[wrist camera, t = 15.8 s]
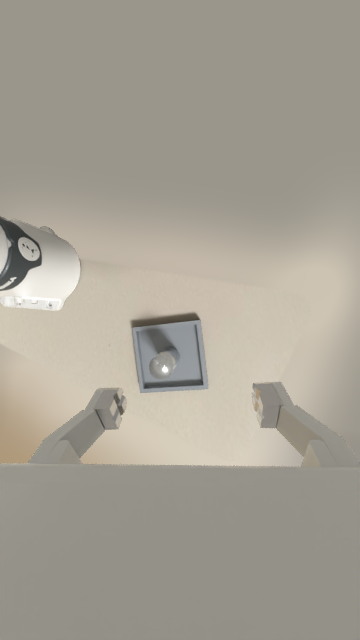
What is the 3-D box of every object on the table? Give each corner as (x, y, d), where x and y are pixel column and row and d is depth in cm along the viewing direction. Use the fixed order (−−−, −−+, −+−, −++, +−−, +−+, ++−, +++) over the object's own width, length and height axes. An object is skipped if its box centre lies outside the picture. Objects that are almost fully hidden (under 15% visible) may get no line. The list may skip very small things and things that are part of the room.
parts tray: (143, 389, 41) (140, 392, 39) (135, 327, 41) (132, 327, 39) (208, 385, 39) (208, 389, 37) (200, 319, 38) (200, 320, 37)
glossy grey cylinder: (162, 366, 39) (150, 380, 32) (159, 347, 39) (147, 356, 31) (181, 365, 39) (173, 378, 31) (178, 345, 39) (170, 354, 31)
